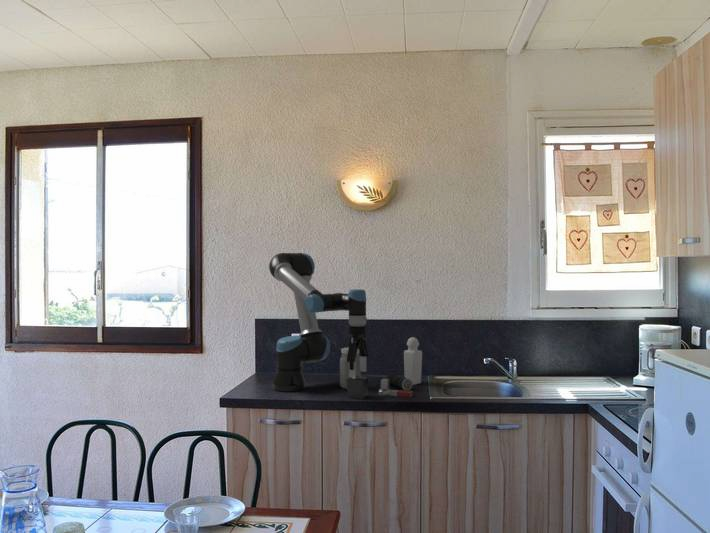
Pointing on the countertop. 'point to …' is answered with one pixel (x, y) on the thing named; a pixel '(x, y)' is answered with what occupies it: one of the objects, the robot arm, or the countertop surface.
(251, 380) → the countertop surface
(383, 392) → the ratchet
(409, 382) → the flashlight
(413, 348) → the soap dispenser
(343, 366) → the jar
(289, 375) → the robot arm
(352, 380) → the speaker cube
